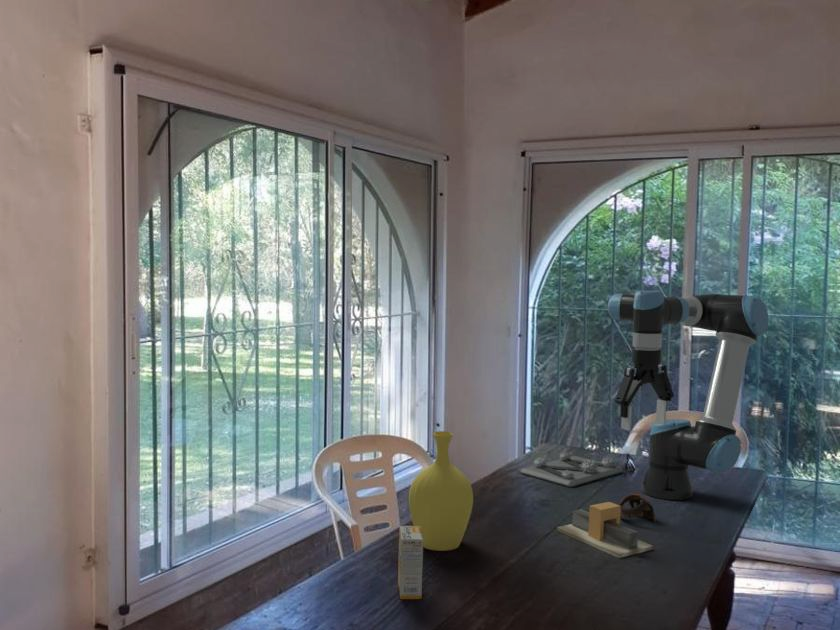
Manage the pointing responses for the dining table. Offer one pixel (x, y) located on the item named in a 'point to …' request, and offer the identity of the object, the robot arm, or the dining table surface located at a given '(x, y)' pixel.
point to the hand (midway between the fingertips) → (643, 426)
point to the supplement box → (410, 562)
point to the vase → (441, 500)
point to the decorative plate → (571, 470)
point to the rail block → (606, 536)
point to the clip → (602, 518)
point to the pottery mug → (636, 507)
